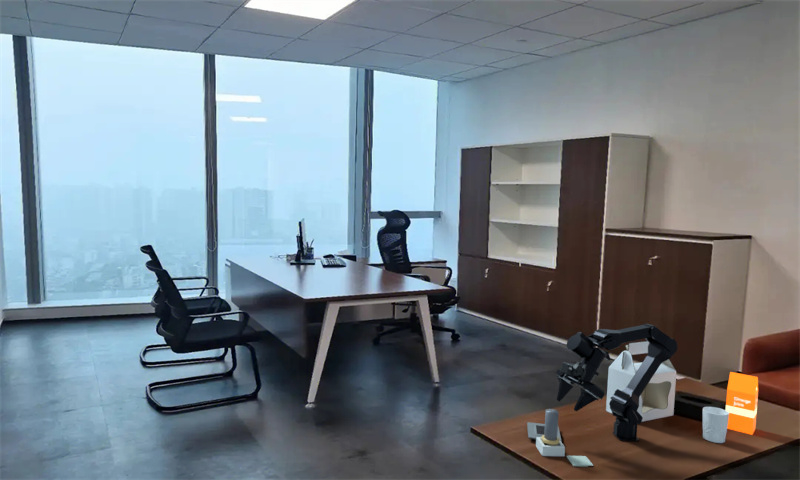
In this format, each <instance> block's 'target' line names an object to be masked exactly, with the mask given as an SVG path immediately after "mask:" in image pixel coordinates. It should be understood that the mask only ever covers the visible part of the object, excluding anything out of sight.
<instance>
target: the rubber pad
mask: <svg viewBox="0 0 800 480" xmlns="http://www.w3.org/2000/svg"><path fill="white" fill-rule="evenodd" d="M566 458H567V460H568V461H569V462H570V464H571V465H572V467H588V466H593V467H594V464H593V463H592V461H591V460H590V459H589V458H588V457H587V456H586V455H566Z"/></svg>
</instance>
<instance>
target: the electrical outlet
mask: <svg viewBox="0 0 800 480" xmlns="http://www.w3.org/2000/svg"><path fill="white" fill-rule="evenodd" d="M526 424H527V438H528V439H529V440H531V441H532V440H534V441H536V437H542V435H544V430H545V423H538V422H527V423H526ZM557 437H559V439H560V441H561V442H562V438H561V432H560V427H559V426H558V433H557Z"/></svg>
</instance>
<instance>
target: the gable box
mask: <svg viewBox="0 0 800 480" xmlns="http://www.w3.org/2000/svg"><path fill="white" fill-rule="evenodd" d="M648 345H649V342H648V341H647V340H645V341H638V342H637V341H634V342H628V344H625V345H624V346H625V349H626V350H623V351H622V352H621V353H620V354H618V356H617V357H616V358H615V359H614V361H612V363H611V364H610V365H609V366H608V374H607V389H606V390H607V391H606V404H605V411H606V412H607V413H609V414H612V411H611V409H610V405H609V403H610V401H611V399H610V398H611V397H612V396H613V395H614V393H615V391H616V390H617V389H619V390H621V391H622V390H624V389H625V388H626V387H627V385H628V384H629V382H630V381H631V379H632V378H633V376H634V375H635V373H636V372H637V370H638V369H639V367H640V366H641V364H642V363H643V361H642V362H635V363H634V359H633V356H634V355H641V354H648ZM676 379H677V370H676V368H675V366H674V364H673V363H672V361H671V360H670V359H668V360H666V361H664V362H662V363H661V364H660V366H659V368H658V369H657V371H656V372H655V374H654V375H653V377H652V378H651V380H650V381H649V383H648V384H647V386H646V387H645V389H644V391H643V392H642V394H641V395H640V397H639V407H638V410H637V411H638V413H639V414H640V415H641V416H642V417H643V419H642V422H646V421H647V422H648V421H652V420H656V419H657V420H658V419H662V418H668V417H672V416H674V413H675V409H674V408H675V400H676V399H675V398H676V397H675V396H676V383H677V380H676ZM642 422H641V423H642Z"/></svg>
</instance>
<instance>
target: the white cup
mask: <svg viewBox="0 0 800 480" xmlns="http://www.w3.org/2000/svg"><path fill="white" fill-rule="evenodd" d="M728 419H729V412H728V411H726V409H723V408H720V407H715V406H704V407H702V438H703V439H704V440H707V441H708V442H710V443H715V444H723V443H726V436H727V433H728V429H727V427H728Z"/></svg>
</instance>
